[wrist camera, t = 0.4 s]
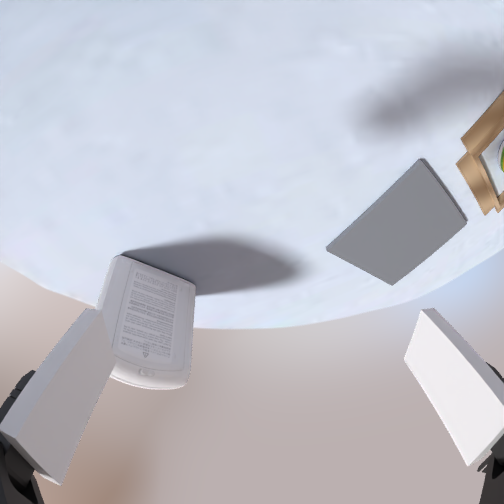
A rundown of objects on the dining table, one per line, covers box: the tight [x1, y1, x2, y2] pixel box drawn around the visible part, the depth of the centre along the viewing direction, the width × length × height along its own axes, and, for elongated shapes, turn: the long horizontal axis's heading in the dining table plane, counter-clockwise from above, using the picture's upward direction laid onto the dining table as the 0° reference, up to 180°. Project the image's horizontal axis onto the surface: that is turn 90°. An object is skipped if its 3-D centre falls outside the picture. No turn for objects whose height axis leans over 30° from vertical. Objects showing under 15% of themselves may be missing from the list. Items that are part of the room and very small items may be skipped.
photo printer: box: [95, 255, 196, 390], centre depth 26 cm, size 10×4×12 cm, turn 54°
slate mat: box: [326, 159, 467, 285], centre depth 27 cm, size 13×13×1 cm
